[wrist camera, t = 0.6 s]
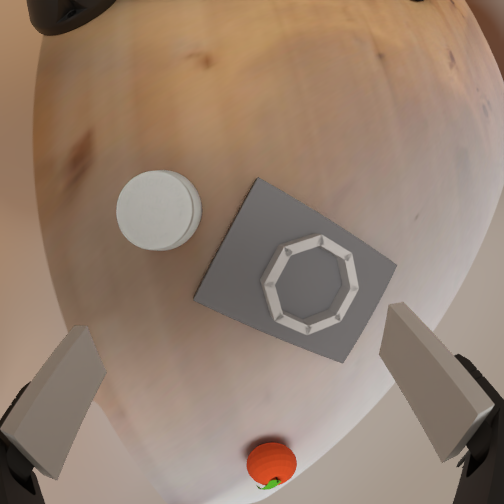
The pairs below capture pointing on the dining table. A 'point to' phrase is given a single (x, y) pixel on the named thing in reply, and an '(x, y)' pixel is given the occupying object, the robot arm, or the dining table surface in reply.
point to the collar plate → (295, 274)
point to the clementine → (271, 464)
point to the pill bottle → (159, 210)
